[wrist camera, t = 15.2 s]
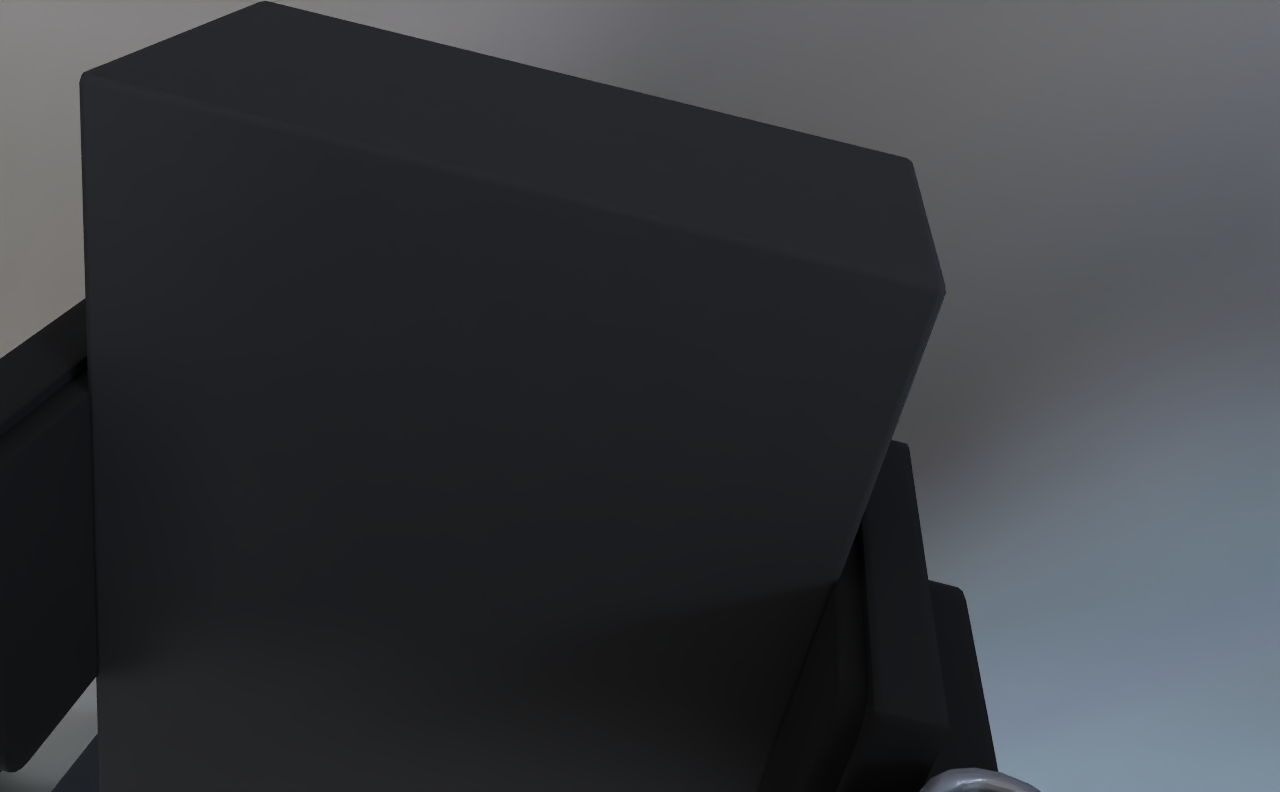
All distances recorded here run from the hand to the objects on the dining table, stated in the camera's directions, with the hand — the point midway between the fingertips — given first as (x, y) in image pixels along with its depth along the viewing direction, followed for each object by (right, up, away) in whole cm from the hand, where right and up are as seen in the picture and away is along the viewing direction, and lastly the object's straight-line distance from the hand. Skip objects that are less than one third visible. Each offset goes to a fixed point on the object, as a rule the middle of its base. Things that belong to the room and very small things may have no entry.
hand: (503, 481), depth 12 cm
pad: (0, -1, +1) cm, 2 cm away
